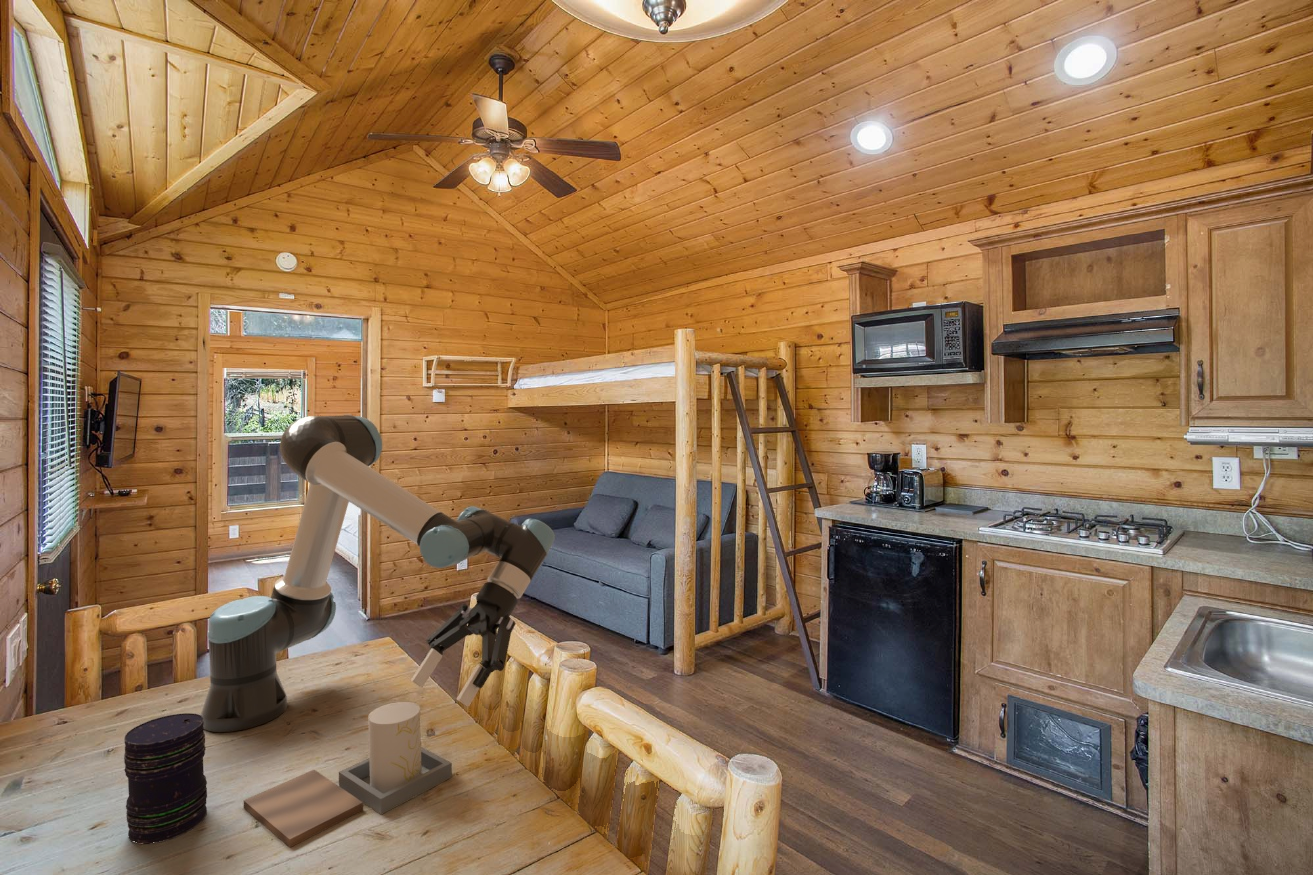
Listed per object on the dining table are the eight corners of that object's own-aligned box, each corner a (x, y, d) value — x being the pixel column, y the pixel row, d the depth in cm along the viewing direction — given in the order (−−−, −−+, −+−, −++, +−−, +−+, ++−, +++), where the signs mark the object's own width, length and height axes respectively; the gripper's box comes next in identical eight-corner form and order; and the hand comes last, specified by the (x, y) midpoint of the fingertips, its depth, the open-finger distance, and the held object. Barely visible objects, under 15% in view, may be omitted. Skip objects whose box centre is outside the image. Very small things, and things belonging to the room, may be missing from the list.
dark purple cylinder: (143, 853, 93) (139, 751, 92) (115, 830, 98) (111, 733, 97) (220, 816, 101) (216, 722, 100) (190, 796, 106) (187, 707, 106)
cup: (403, 798, 105) (402, 726, 105) (359, 792, 107) (357, 721, 107) (430, 771, 113) (429, 703, 113) (389, 766, 115) (387, 700, 114)
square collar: (339, 786, 109) (338, 771, 109) (409, 753, 119) (408, 740, 119) (381, 814, 101) (380, 799, 101) (452, 776, 111) (451, 762, 111)
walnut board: (243, 807, 103) (243, 800, 103) (314, 776, 112) (314, 769, 112) (289, 847, 94) (289, 839, 94) (363, 809, 102) (362, 802, 102)
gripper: (557, 611, 122) (496, 721, 110) (473, 591, 137) (411, 685, 125) (536, 590, 117) (470, 702, 106) (451, 571, 132) (385, 667, 121)
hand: (438, 693), depth 116 cm, fingers open, 13 cm apart
